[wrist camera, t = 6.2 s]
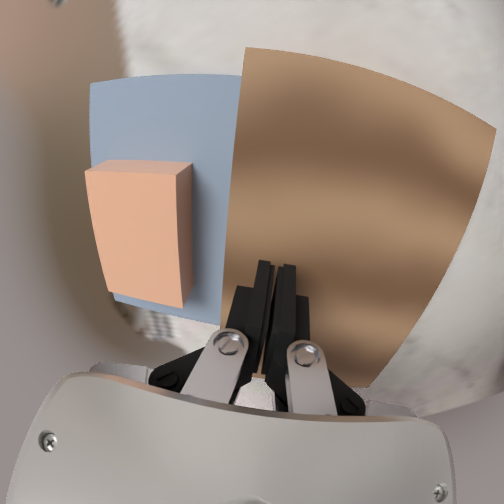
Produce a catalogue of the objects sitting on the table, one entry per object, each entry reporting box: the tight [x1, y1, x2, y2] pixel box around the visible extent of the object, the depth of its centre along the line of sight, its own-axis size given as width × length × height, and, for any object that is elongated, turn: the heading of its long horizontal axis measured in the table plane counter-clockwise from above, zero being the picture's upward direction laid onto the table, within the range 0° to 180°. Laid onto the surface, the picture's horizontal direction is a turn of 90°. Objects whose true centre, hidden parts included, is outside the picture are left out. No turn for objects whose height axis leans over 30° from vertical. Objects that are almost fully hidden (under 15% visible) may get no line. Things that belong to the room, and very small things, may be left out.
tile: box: [85, 160, 194, 309], centre depth 16 cm, size 9×6×2 cm, turn 175°
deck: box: [220, 47, 496, 387], centre depth 15 cm, size 20×12×4 cm, turn 173°
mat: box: [90, 74, 242, 325], centre depth 17 cm, size 18×10×1 cm, turn 173°
